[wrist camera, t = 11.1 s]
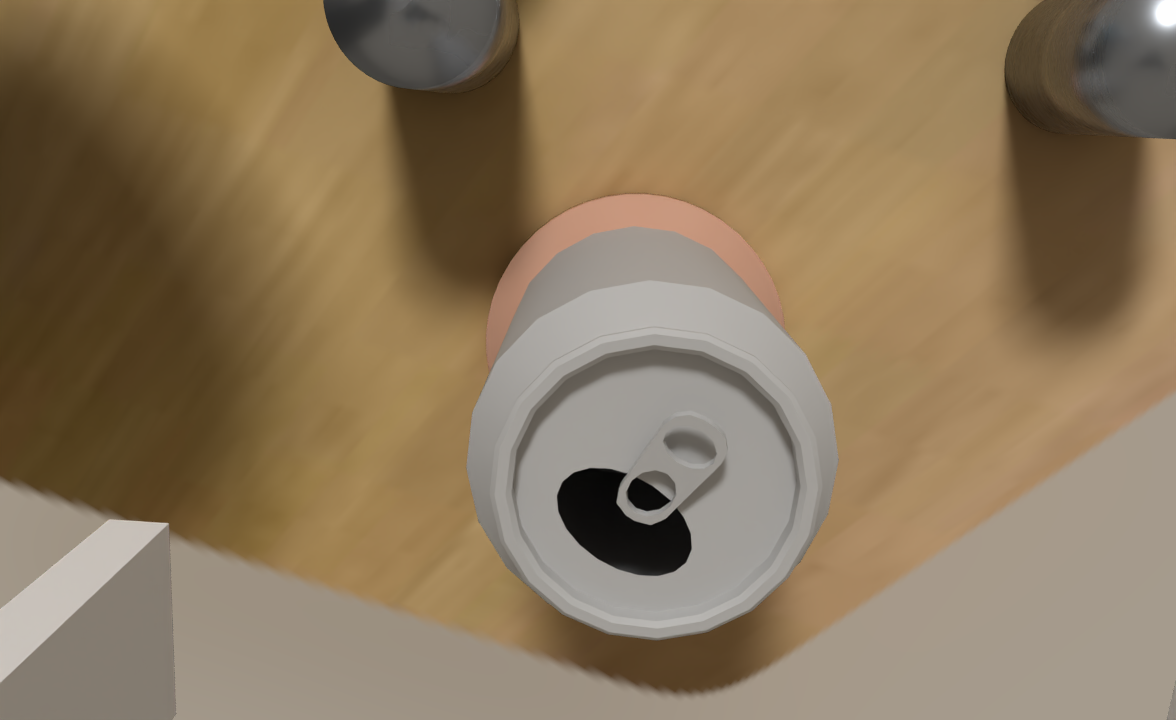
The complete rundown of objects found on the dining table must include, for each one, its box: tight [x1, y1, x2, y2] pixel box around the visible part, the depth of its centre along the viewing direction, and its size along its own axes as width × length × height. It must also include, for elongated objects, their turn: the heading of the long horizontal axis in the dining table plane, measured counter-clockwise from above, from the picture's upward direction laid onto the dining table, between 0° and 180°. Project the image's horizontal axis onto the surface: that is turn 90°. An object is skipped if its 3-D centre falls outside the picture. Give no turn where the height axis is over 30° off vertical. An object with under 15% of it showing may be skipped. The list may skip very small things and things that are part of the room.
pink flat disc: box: [486, 193, 785, 373], centre depth 31 cm, size 9×9×1 cm
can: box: [467, 226, 839, 640], centre depth 24 cm, size 8×8×12 cm
